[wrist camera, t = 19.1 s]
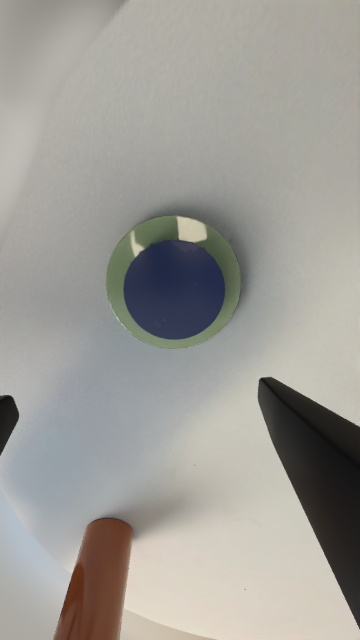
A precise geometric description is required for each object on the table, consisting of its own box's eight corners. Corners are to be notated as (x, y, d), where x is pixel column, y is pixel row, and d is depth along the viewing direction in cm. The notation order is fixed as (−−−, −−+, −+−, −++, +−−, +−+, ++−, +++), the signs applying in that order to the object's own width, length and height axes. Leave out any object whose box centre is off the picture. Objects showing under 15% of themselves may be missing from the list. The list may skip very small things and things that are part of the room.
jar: (78, 540, 29) (25, 714, 18) (95, 513, 27) (45, 689, 17) (122, 550, 30) (95, 720, 19) (140, 525, 28) (121, 697, 18)
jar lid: (221, 330, 18) (224, 337, 17) (132, 335, 18) (129, 343, 17) (222, 236, 15) (227, 236, 14) (119, 241, 15) (114, 241, 14)
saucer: (91, 313, 18) (86, 317, 17) (141, 187, 15) (139, 184, 14) (198, 360, 20) (200, 367, 19) (262, 257, 17) (268, 259, 16)
